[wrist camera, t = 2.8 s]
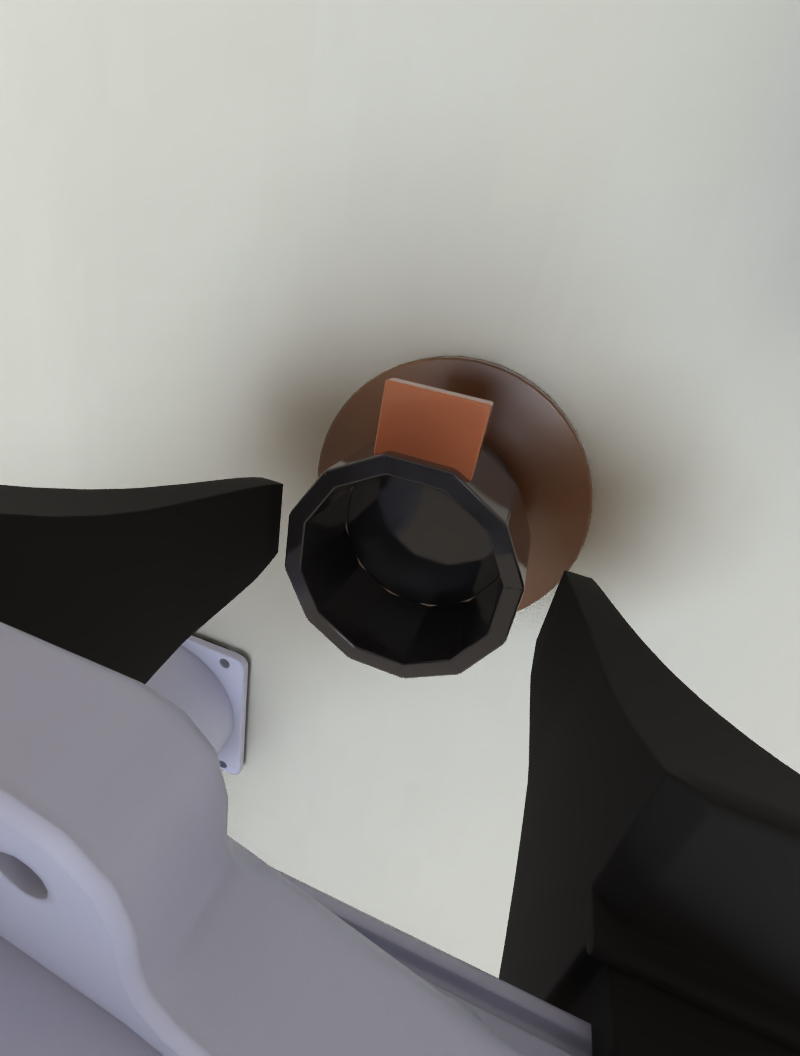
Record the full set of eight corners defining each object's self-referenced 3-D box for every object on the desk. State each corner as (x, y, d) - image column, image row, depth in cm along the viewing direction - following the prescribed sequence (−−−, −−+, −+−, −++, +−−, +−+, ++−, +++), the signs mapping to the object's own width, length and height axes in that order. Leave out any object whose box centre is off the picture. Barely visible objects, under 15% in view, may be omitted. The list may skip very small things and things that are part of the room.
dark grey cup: (351, 553, 17) (278, 632, 13) (383, 350, 14) (301, 361, 9) (503, 602, 16) (481, 709, 11) (574, 394, 13) (581, 430, 8)
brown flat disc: (312, 570, 19) (305, 577, 18) (341, 327, 15) (332, 327, 14) (538, 646, 17) (537, 657, 16) (640, 395, 13) (643, 398, 12)
